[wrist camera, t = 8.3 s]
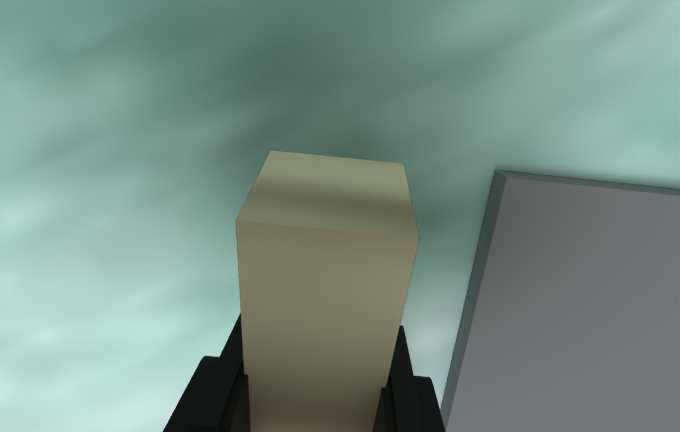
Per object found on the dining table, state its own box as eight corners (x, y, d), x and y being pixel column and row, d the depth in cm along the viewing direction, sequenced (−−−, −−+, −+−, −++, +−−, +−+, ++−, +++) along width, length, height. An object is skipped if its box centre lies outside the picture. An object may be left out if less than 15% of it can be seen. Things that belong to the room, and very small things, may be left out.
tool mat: (495, 170, 16) (506, 177, 14) (754, 197, 16) (786, 206, 14) (405, 560, 23) (409, 586, 21) (585, 577, 23) (597, 604, 22)
